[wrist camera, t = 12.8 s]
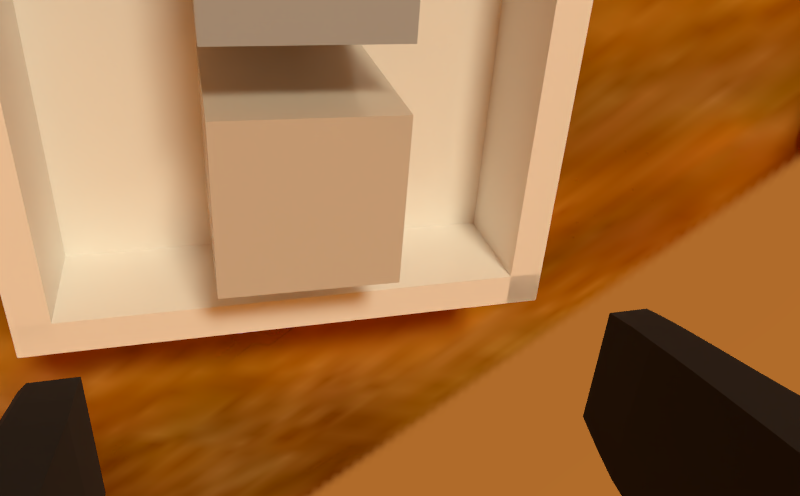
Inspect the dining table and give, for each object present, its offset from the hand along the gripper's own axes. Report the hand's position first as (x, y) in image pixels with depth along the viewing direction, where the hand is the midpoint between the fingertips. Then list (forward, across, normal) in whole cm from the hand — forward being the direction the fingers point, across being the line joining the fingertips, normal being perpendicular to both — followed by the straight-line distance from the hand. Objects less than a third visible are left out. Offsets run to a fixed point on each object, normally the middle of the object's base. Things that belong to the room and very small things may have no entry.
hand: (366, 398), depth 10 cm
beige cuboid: (+9, 0, 0) cm, 9 cm away
